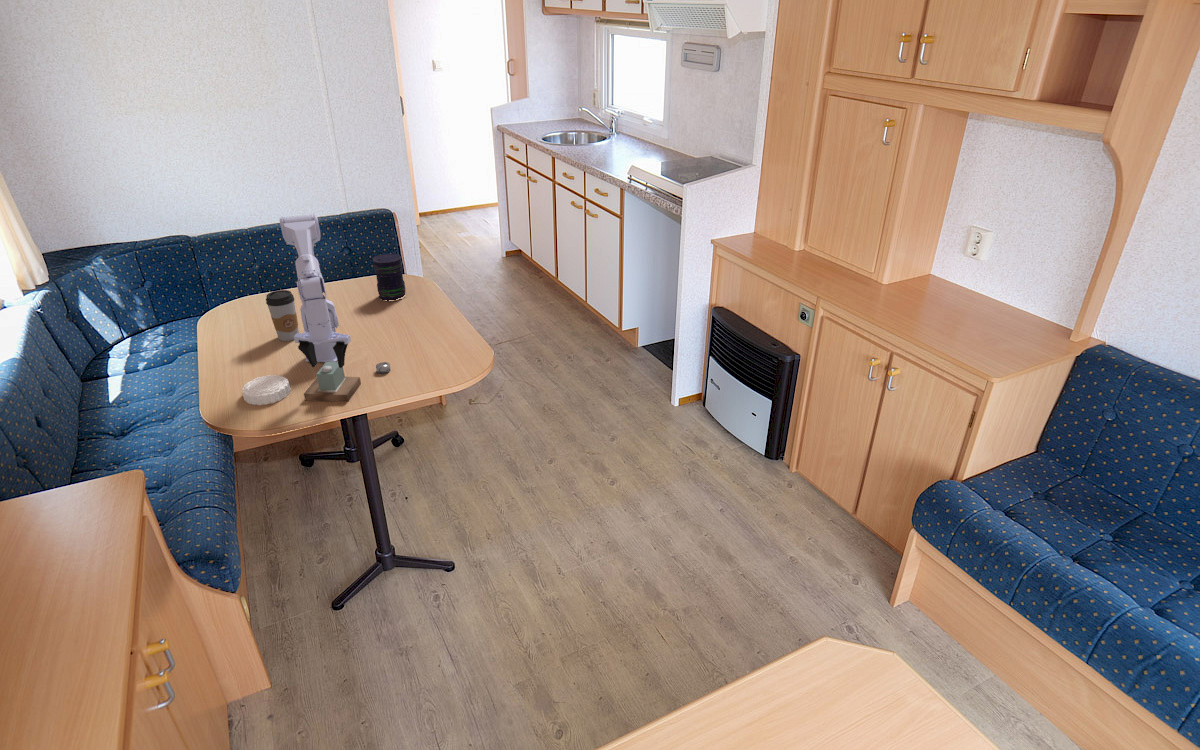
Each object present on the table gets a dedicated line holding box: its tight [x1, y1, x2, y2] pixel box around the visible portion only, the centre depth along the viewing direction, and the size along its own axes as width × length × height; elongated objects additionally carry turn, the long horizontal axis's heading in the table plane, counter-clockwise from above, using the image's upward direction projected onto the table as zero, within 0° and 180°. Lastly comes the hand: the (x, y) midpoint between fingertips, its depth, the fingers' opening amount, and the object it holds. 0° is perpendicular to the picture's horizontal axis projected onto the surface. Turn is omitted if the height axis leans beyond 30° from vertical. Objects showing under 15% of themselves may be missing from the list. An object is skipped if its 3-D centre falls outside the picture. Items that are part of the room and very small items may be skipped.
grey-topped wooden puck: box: [375, 361, 391, 375], centre depth 203 cm, size 4×4×2 cm
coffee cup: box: [265, 289, 300, 342], centre depth 220 cm, size 8×8×15 cm
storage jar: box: [372, 253, 406, 302], centre depth 250 cm, size 10×10×15 cm
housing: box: [315, 361, 346, 390], centre depth 190 cm, size 7×4×6 cm, turn 178°
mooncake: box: [241, 374, 292, 406], centre depth 191 cm, size 12×12×4 cm
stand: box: [303, 376, 362, 402], centre depth 192 cm, size 12×10×2 cm
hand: (328, 365), depth 188 cm, fingers open, 7 cm apart
